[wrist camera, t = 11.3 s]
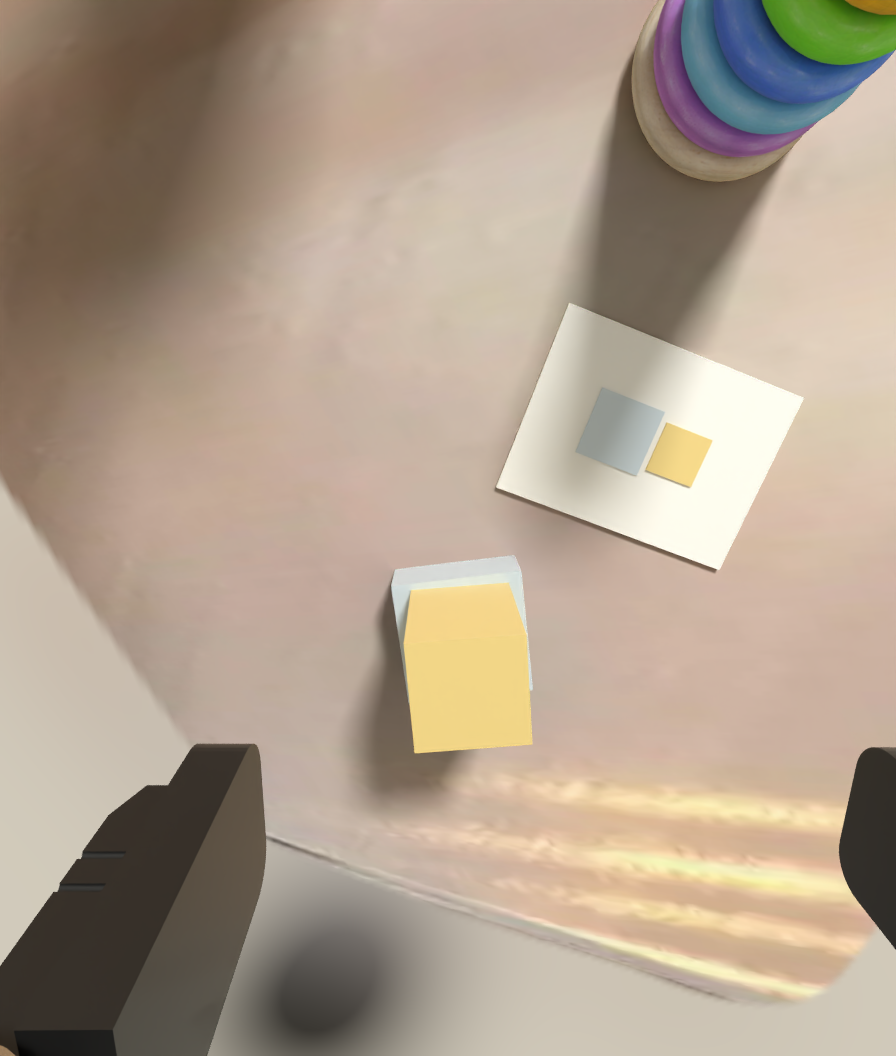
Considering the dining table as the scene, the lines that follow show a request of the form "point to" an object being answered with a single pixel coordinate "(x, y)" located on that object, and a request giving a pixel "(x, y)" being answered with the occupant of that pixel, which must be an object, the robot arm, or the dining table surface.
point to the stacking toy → (750, 76)
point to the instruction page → (646, 438)
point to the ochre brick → (467, 669)
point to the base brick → (455, 576)
